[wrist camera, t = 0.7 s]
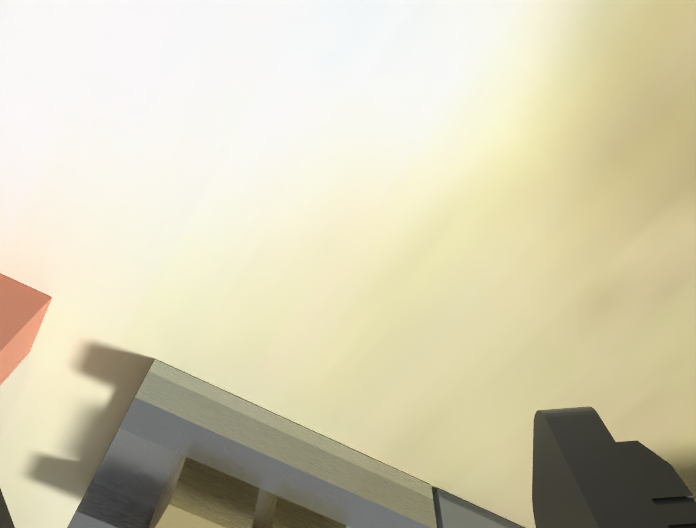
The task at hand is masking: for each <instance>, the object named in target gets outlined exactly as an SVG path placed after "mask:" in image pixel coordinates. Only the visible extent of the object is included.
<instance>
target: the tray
mask: <svg viewBox="0 0 696 528" xmlns="http://www.w3.org/2000/svg"><path fill="white" fill-rule="evenodd" d="M433 501H434V509H435V516H436V523H437V528H524V527H522V526H519V525H517V524H515V523H513V522H511V521H508V520H506V519H504V518H502V517H500V516H498V515H495V514H493V513H491V512H489V511H487V510H484V509H482V508H480V507H478V506H476V505H473V504H471V503H469V502H467V501H465V500H462V499H460V498H458V497H456V496H454V495H452V494H449V493H447V492H445V491H443V490H441V489H438V488H437V490H436V491H435V492H434V493H433Z"/></svg>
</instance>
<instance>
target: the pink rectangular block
mask: <svg viewBox="0 0 696 528" xmlns="http://www.w3.org/2000/svg"><path fill="white" fill-rule="evenodd" d="M51 298H52V297H50V296H48V295H46V294H44V293H41V292H39V291H37V290H35V289H33V288H31V287H28V286H26V285H24V284H22V283H20V282H18V281H15V280H13V279H11V278H9V277H7V276H5V275H2V274H0V385H1V384H2V383H3V382H4V381H5V379H6V378H7V377H8V376H9V375H10V374H11V373H12V371H13V370H14V369H15V368H16V367H17V366H18V365H19V363H20V362H21V361H22V360H23V359H24V358H25V357H26V356H27V354H28V353H29V352H30V350H31V347H32V345H33V342H34V340H35V337H36V335H37V333H38V330H39V328H40V325H41V323H42V320H43V318H44V316H45V313H46V311H47V308H48V306H49V303H50V301H51Z"/></svg>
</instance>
